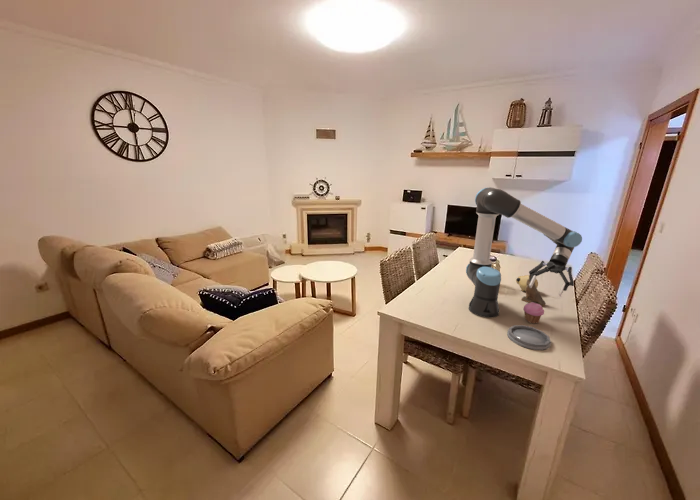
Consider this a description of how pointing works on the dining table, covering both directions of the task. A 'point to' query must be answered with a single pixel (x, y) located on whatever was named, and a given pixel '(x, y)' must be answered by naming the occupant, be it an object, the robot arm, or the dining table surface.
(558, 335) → the dining table surface
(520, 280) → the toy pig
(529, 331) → the slate plate
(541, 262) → the robot arm
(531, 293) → the worn brown figurine
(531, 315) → the cupcake
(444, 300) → the dining table surface
